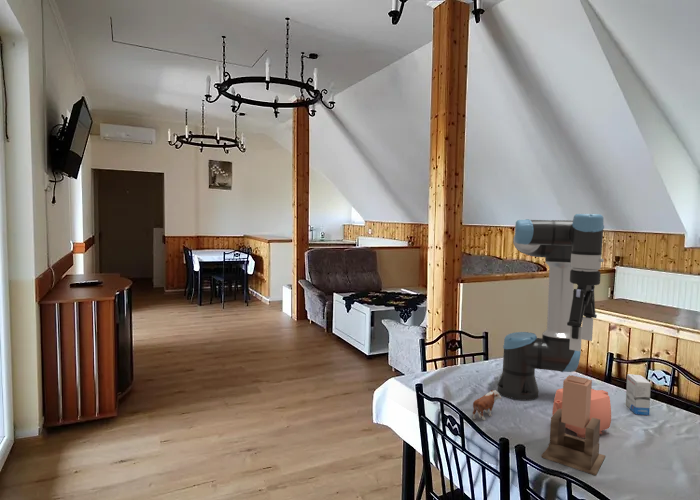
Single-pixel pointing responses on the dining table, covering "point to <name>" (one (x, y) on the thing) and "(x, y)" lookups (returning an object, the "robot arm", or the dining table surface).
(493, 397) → the bull figurine
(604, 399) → the teapot
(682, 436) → the dining table surface
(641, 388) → the ink box
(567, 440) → the wooden slotted stand
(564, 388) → the block
